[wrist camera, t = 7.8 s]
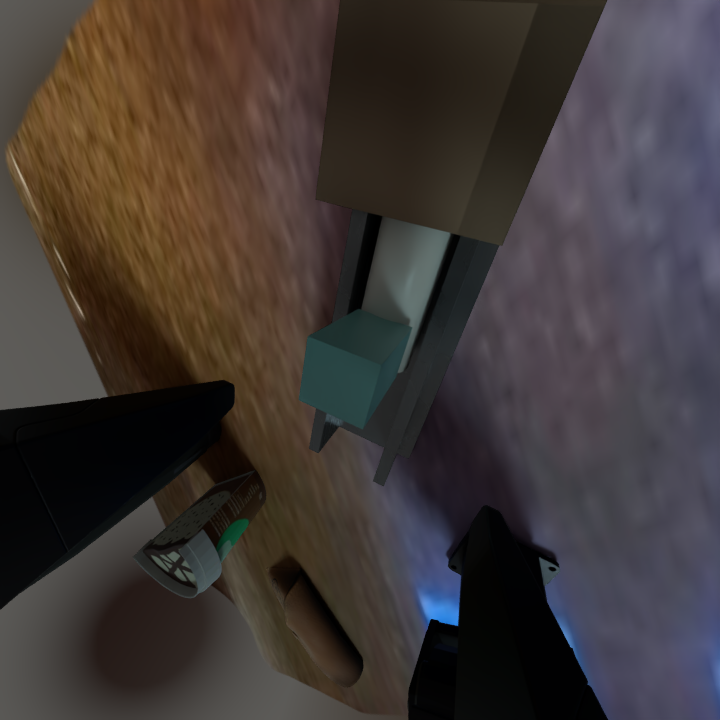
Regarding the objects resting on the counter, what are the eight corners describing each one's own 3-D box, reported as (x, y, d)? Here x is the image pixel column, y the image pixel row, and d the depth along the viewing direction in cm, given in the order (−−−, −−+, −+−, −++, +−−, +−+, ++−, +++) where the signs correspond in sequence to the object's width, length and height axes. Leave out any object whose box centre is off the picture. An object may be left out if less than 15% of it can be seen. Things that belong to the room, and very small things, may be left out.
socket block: (498, 245, 15) (508, 247, 10) (366, 212, 17) (311, 198, 12) (569, 76, 12) (646, -68, 6) (398, 59, 14) (341, -63, 8)
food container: (236, 520, 38) (166, 600, 30) (210, 485, 38) (130, 557, 29) (293, 509, 32) (225, 605, 24) (263, 467, 31) (181, 551, 23)
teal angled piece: (414, 357, 18) (369, 432, 11) (364, 338, 19) (292, 397, 12) (504, 99, 12) (537, -107, 5) (425, 89, 13) (356, -97, 6)
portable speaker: (162, 411, 35) (-127, 562, 19) (182, 367, 30) (-187, 519, 14) (209, 459, 35) (-39, 654, 18) (236, 423, 30) (-68, 645, 14)
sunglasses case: (261, 566, 40) (247, 614, 34) (304, 543, 40) (298, 586, 34) (322, 652, 43) (320, 711, 37) (362, 630, 43) (366, 685, 37)
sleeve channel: (411, 450, 23) (397, 493, 19) (326, 411, 25) (297, 442, 21) (498, 245, 15) (503, 246, 11) (366, 212, 17) (334, 204, 13)
